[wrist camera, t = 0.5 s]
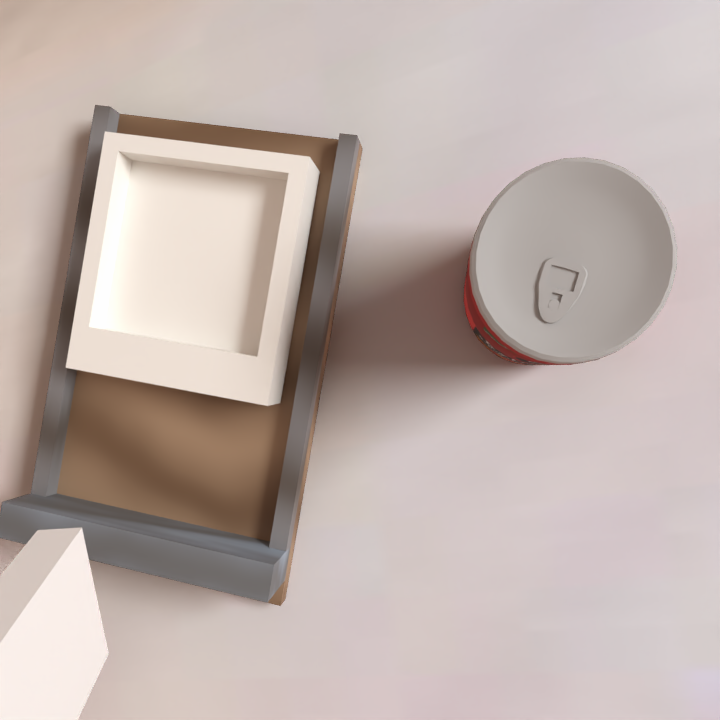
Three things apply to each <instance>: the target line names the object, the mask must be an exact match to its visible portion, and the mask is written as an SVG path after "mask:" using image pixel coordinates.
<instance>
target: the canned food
mask: <svg viewBox="0 0 720 720" xmlns="http://www.w3.org/2000/svg"><path fill="white" fill-rule="evenodd" d="M676 268H677V244H676V239H675V233H674V228H673V225H672V222H671V220H670V218H669V215H668V213H667V210H666V208H665V206H664V205H663V204H662V202H661V201H660V199H659V198H658V196H657V195H656V193H655V192H654V191H653V190H652V189H651V188H650V187H649V186H648V185H647V184H646V183H645V182H644V181H643V180H642V179H641V178H639V177H638V176H636V175H635V174H633V173H631V172H630V171H628V170H627V169H625V168H623V167H621V166H618V165H615V164H613V163H610V162H607V161H604V160H598V159H591V158H585V157H583V158H564V159H560V160H556V161H552V162H548V163H544V164H542V165H540V166H537V167H535V168H533V169H531V170H529V171H526V172H525V173H523V174H522V175H521V176H519V177H518V178H516V179H515V180H514V181H512V182H511V183H509V184H508V185H507V186H506V187H505V188H504V189H503V190H502V191H501V193H500V194H499V195H498V196H497V197H496V198H495V199H494V200H493V202H492V203H491V205H490V206H489V208H488V209H487V211H486V212H485V214H484V215H483V217H482V218H481V221H480V223H479V225H478V228H477V230H476V232H475V235H474V238H473V241H472V246H471V250H470V255H469V259H468V266H467V272H466V279H465V285H464V305H465V310H466V315H467V318H468V321H469V323H470V326H471V328H472V330H473V331H474V333H475V334H476V336H477V338H478V339H479V340H480V341H481V342H482V343H483V344H484V345H485V346H486V347H487V348H488V349H489V350H490V351H492V352H493V353H495V354H496V355H497V356H499V357H501V358H503V359H506V360H508V361H511V362H514V363H519V364H524V365H572V364H578V363H583V362H589V361H594V360H598V359H600V358H602V357H605V356H607V355H610V354H612V353H615V352H617V351H618V350H620V349H621V348H623V347H625V346H626V345H628V344H629V343H631V342H632V341H634V340H635V339H637V338H638V337H639V336H640V335H641V334H642V333H643V332H644V331H645V330H646V329H647V328H648V327H649V326H650V325H651V324H652V323H653V321H654V320H655V318H656V317H657V316H658V314H659V313H660V311H661V310H662V308H663V307H664V305H665V302H666V300H667V298H668V296H669V293H670V291H671V289H672V285H673V281H674V277H675V272H676Z"/></svg>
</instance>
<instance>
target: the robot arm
mask: <svg viewBox="0 0 720 720" xmlns="http://www.w3.org/2000/svg"><path fill="white" fill-rule="evenodd" d="M108 654H109V653H108V648H107V644H106V639H105V634H104V629H103V625H102V620H101V615H100V610H99V606H98V601H97V596H96V592H95V587H94V582H93V577H92V573H91V568H90V563H89V558H88V554H87V549H86V544H85V540H84V535H83V530H82V528H65V529H48V530H37V532H36V533H35V534H34V535H33V536H32V538H31V539H30V540H29V541H28V542H27V544H26V545H25V546H24V547H23V549H22V550H21V551H20V552H19V553H18V555H17V556H16V557H15V558H14V559H13V561H12V562H11V563H10V564H9V565H8V567H7V568H6V569H5V570H4V572H3V573H2V574H1V575H0V720H78V718H79V716H80V714H81V712H82V710H83V708H84V705H85V703H86V701H87V699H88V697H89V695H90V693H91V690H92V688H93V686H94V684H95V682H96V680H97V678H98V675H99V673H100V671H101V669H102V667H103V665H104V663H105V660H106V658H107V656H108Z"/></svg>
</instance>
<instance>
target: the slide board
mask: <svg viewBox="0 0 720 720" xmlns="http://www.w3.org/2000/svg"><path fill="white" fill-rule="evenodd" d="M105 132H114V133H122V134H130V135H138V136H146V137H154V138H162V139H170V140H178V141H187V142H195V143H203V144H211V145H219V146H227V147H235V148H243V149H251V150H260V151H268V152H276V153H284V154H292V155H300V156H308V157H310V158H311V159H312V161H313V162H314V164H315V165H316V167H317V168H318V170H319V171H320V174H319V180H318V186H317V192H316V197H315V203H314V209H313V215H312V221H311V227H310V233H309V238H308V244H307V250H306V256H305V262H304V268H303V274H302V280H301V285H300V291H299V297H298V303H297V309H296V315H295V321H294V326H293V332H292V338H291V344H290V350H289V356H288V362H287V368H286V373H285V379H284V385H283V391H282V397H281V403H279V404H274V405H269V406H265V405H260V404H254V403H249V402H244V401H239V400H233V399H228V398H223V397H218V396H212V395H207V394H202V393H197V392H191V391H186V390H181V389H176V388H170V387H165V386H160V385H154V384H149V383H144V382H139V381H133V380H128V379H123V378H118V377H112V376H107V375H102V374H97V373H91V372H86V371H81V370H76V369H70V368H66V362H67V356H68V350H69V344H70V338H71V332H72V326H73V320H74V314H75V308H76V302H77V296H78V290H79V284H80V278H81V272H82V266H83V260H84V254H85V248H86V242H87V236H88V230H89V224H90V218H91V212H92V206H93V200H94V194H95V188H96V182H97V176H98V170H99V163H100V157H101V151H102V145H103V139H104V133H105ZM361 154H362V146H361V144H360V141H359V139H358V136H357V135H349V134H341V133H340V135H339V140H337V139H328V138H320V137H312V136H303V135H295V134H286V133H278V132H269V131H261V130H252V129H244V128H235V127H227V126H218V125H210V124H201V123H193V122H184V121H176V120H167V119H159V118H151V117H142V116H134V115H125V114H119V113H118V112H117V111H115V110H114V109H113V108H111V107H109V106H100V105H95V109H94V115H93V121H92V127H91V133H90V139H89V145H88V151H87V157H86V163H85V169H84V175H83V181H82V187H81V193H80V199H79V205H78V211H77V217H76V223H75V229H74V235H73V241H72V248H71V254H70V260H69V266H68V272H67V278H66V284H65V290H64V296H63V302H62V308H61V314H60V320H59V326H58V332H57V338H56V344H55V350H54V356H53V362H52V368H51V374H50V380H49V386H48V392H47V398H46V404H45V410H44V417H43V423H42V429H41V435H40V441H39V447H38V453H37V459H36V465H35V471H34V477H33V483H32V489H31V494H27V495H24V496H21V497H17V498H14V499H11V500H7V501H4V502H2V506H1V512H0V538H2V539H6V540H11V541H15V542H19V543H23V544H27V542H28V541H29V540H30V539H31V538H32V536H33V535H34V534H35V533H36V532H37V530H48V529H65V528H82V530H83V535H84V540H85V544H86V549H87V554H88V558H89V560H93V561H97V562H101V563H106V564H110V565H114V566H118V567H122V568H126V569H130V570H135V571H139V572H143V573H147V574H151V575H155V576H159V577H164V578H168V579H172V580H176V581H180V582H184V583H188V584H193V585H197V586H201V587H205V588H209V589H213V590H217V591H221V592H226V593H230V594H234V595H238V596H242V597H246V598H250V599H255V600H259V601H263V602H267V603H271V604H275V605H279V606H281V604H282V603H283V602H284V600H285V598H286V592H287V586H288V580H289V574H290V569H291V563H292V557H293V551H294V545H295V539H296V534H297V528H298V522H299V516H300V510H301V504H302V498H303V493H304V487H305V481H306V475H307V469H308V463H309V458H310V452H311V446H312V440H313V434H314V428H315V423H316V417H317V411H318V405H319V399H320V393H321V388H322V382H323V376H324V370H325V364H326V358H327V352H328V347H329V341H330V335H331V329H332V323H333V317H334V312H335V306H336V300H337V294H338V288H339V282H340V277H341V271H342V265H343V259H344V253H345V247H346V242H347V236H348V230H349V224H350V218H351V212H352V206H353V201H354V195H355V189H356V183H357V177H358V171H359V166H360V160H361Z"/></svg>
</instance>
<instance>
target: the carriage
mask: <svg viewBox="0 0 720 720" xmlns="http://www.w3.org/2000/svg"><path fill="white" fill-rule="evenodd" d="M319 174H320V171H319V170H318V168H317V167H316V165H315V164H314V162H313V161H312V159H311V158H310V157H308V156H300V155H292V154H284V153H276V152H268V151H260V150H251V149H243V148H235V147H227V146H219V145H211V144H203V143H195V142H187V141H178V140H170V139H162V138H154V137H146V136H138V135H130V134H122V133H114V132H105V133H104V139H103V145H102V151H101V157H100V163H99V170H98V176H97V182H96V188H95V194H94V200H93V206H92V212H91V218H90V224H89V230H88V236H87V242H86V248H85V254H84V260H83V266H82V272H81V278H80V284H79V290H78V296H77V302H76V308H75V314H74V320H73V326H72V332H71V338H70V344H69V350H68V356H67V362H66V368H70V369H76V370H81V371H86V372H91V373H97V374H102V375H107V376H112V377H118V378H123V379H128V380H133V381H139V382H144V383H149V384H154V385H160V386H165V387H170V388H176V389H181V390H186V391H191V392H197V393H202V394H207V395H212V396H218V397H223V398H228V399H233V400H239V401H244V402H249V403H254V404H260V405H265V406H269V405H274V404H279V403H281V397H282V391H283V385H284V379H285V373H286V368H287V362H288V356H289V350H290V344H291V338H292V332H293V326H294V321H295V315H296V309H297V303H298V297H299V291H300V285H301V280H302V274H303V268H304V262H305V256H306V250H307V244H308V238H309V233H310V227H311V221H312V215H313V209H314V203H315V197H316V192H317V186H318V180H319Z"/></svg>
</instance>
